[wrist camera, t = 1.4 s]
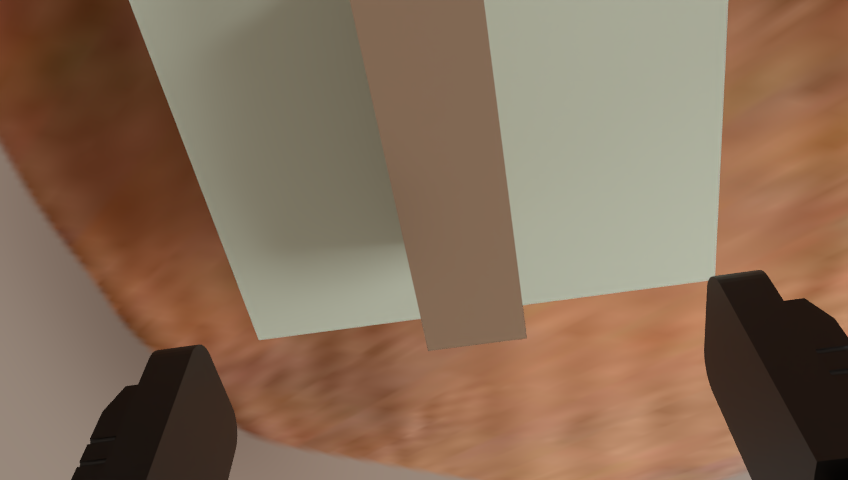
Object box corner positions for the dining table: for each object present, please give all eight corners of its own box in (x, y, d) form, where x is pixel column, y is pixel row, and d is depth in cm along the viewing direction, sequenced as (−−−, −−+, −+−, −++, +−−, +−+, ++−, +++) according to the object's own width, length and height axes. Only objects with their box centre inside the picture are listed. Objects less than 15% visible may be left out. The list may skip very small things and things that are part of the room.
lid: (710, -283, 18) (853, -289, 12) (694, 241, 26) (774, 393, 20) (104, -162, 19) (-39, -113, 13) (270, 299, 28) (227, 457, 22)
